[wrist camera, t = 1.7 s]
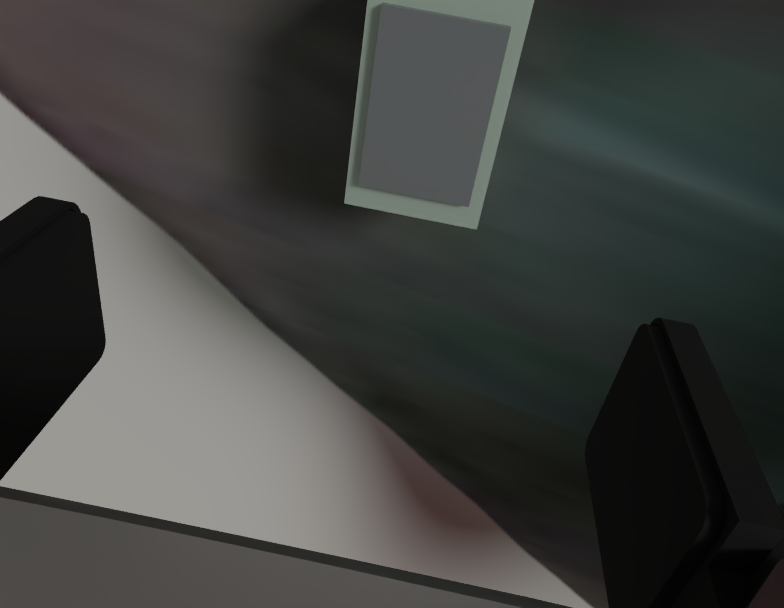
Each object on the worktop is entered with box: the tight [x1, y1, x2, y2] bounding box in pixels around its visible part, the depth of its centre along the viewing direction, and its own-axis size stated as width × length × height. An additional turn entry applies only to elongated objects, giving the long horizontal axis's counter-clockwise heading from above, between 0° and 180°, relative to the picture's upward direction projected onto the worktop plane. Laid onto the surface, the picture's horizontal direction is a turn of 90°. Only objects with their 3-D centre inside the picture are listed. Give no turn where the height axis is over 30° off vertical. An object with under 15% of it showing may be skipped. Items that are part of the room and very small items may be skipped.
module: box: [344, 0, 534, 230], centre depth 24 cm, size 5×8×7 cm, turn 172°
